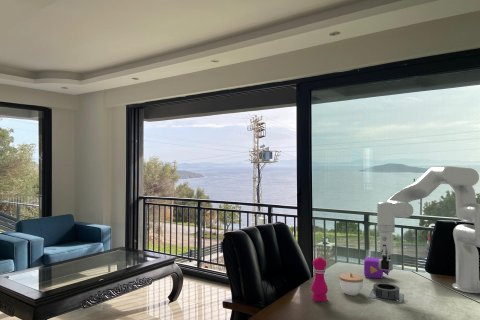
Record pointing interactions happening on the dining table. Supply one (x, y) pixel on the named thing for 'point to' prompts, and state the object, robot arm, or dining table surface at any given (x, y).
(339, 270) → the dining table surface
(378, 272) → the toy camera
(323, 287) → the pepper mill
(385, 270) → the grey rounded dome
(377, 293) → the lens barrel
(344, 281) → the lidded jar
